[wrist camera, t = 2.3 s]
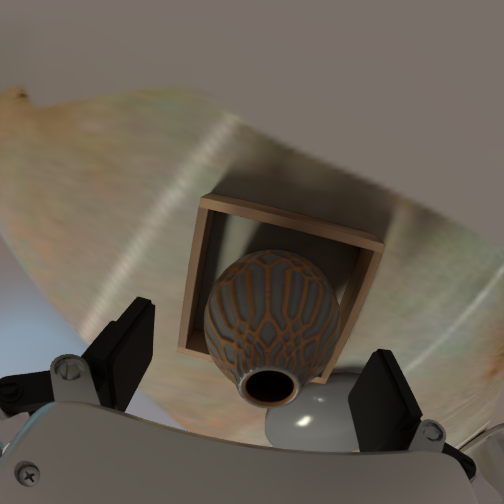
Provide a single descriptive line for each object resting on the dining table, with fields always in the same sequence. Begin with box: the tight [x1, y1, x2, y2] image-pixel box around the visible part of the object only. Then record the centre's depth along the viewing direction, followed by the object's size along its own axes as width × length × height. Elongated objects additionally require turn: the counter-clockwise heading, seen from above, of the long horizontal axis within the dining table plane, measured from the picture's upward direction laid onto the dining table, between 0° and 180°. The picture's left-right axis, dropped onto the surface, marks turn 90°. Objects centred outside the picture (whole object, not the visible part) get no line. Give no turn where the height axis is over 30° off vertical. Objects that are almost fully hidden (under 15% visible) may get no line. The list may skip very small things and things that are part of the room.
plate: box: [265, 373, 360, 452], centre depth 21 cm, size 11×11×1 cm
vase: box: [204, 250, 340, 408], centre depth 14 cm, size 7×7×9 cm
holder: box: [177, 193, 385, 384], centre depth 17 cm, size 10×10×2 cm
